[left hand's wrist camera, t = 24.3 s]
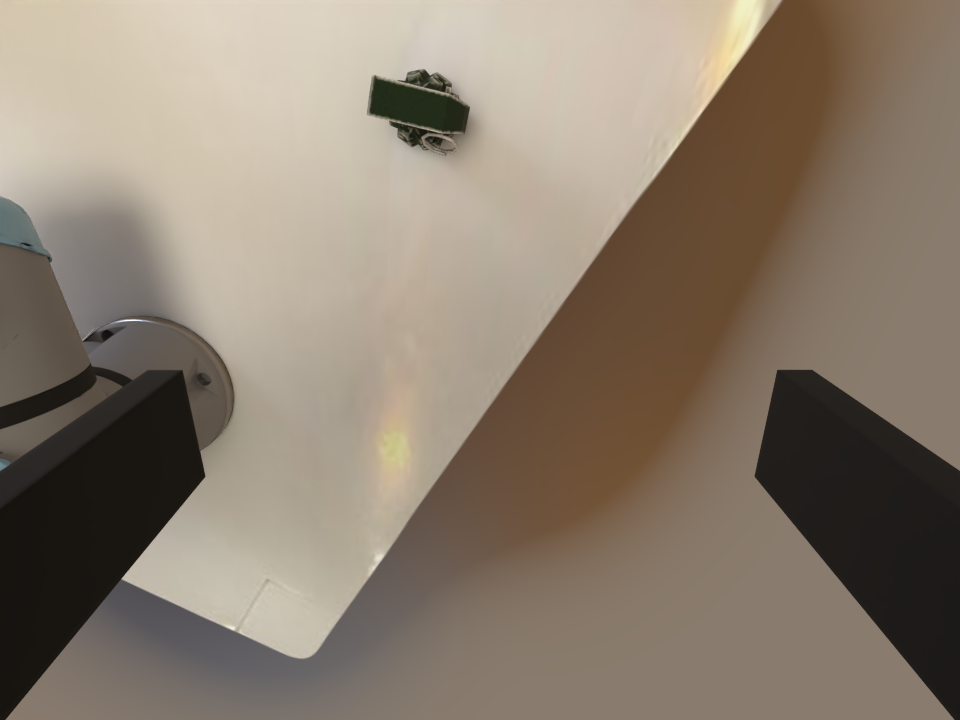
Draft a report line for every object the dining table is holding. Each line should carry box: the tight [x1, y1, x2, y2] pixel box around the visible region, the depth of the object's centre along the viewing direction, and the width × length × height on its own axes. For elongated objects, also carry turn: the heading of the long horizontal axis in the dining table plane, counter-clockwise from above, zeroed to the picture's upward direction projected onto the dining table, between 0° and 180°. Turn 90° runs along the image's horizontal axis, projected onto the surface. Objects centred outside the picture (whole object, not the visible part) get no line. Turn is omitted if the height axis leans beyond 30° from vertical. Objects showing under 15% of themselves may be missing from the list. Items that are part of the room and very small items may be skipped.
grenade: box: [367, 69, 470, 156], centre depth 42 cm, size 7×6×10 cm
